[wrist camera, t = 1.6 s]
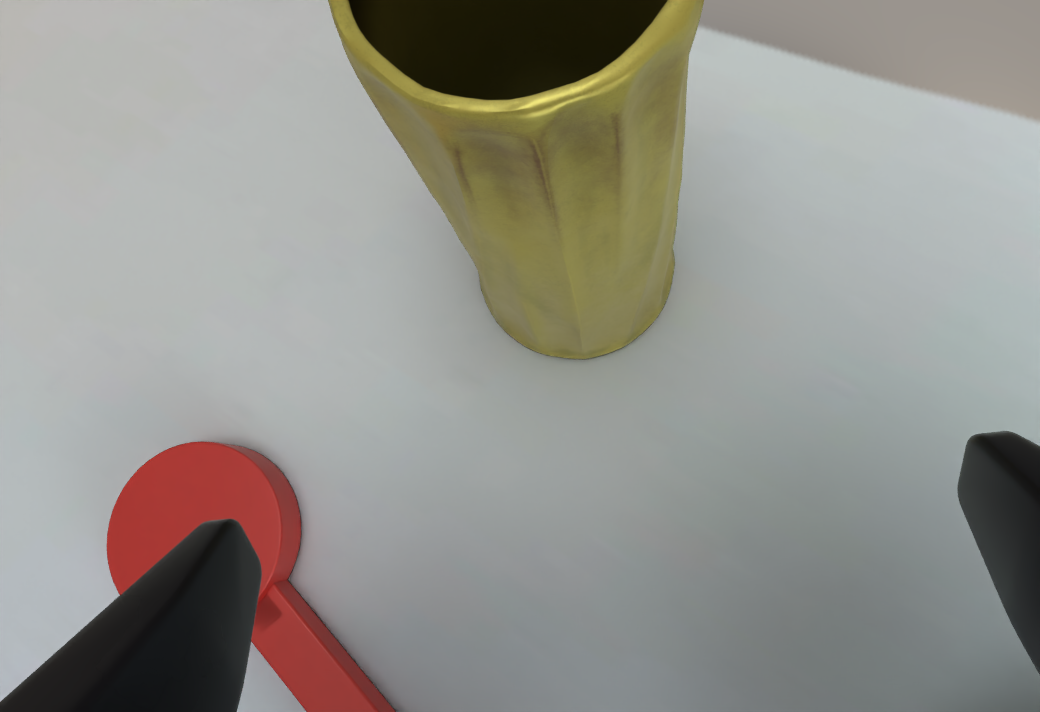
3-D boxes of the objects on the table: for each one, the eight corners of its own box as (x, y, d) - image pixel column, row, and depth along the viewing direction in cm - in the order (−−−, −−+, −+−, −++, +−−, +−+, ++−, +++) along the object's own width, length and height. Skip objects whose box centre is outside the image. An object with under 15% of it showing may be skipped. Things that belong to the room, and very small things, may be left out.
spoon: (483, 1030, 20) (473, 1069, 18) (102, 531, 24) (71, 533, 23) (630, 877, 20) (631, 906, 19) (228, 408, 24) (204, 403, 23)
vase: (504, 382, 23) (328, 208, 9) (462, 204, 24) (252, -185, 10) (697, 332, 23) (821, 67, 9) (643, 153, 24) (676, -327, 10)
